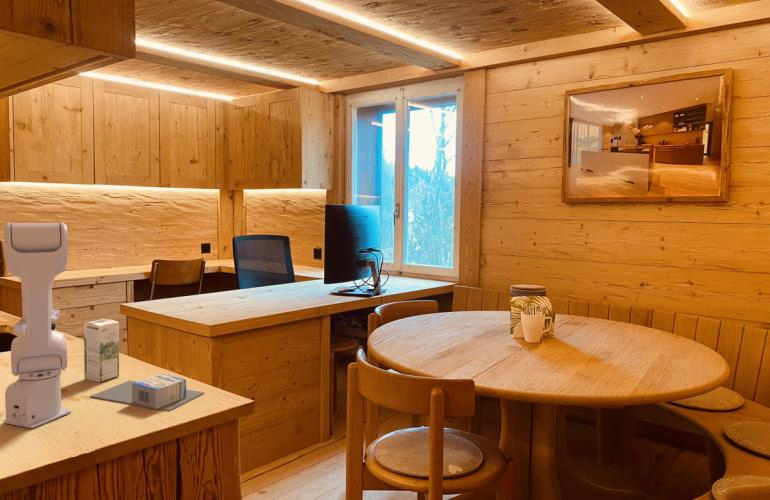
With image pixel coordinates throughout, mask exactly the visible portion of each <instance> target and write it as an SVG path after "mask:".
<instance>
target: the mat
mask: <svg viewBox="0 0 770 500" xmlns="http://www.w3.org/2000/svg"><path fill="white" fill-rule="evenodd" d="M135 382H137V380H136V381H135V380H127V381H125V382H122V383H120V384H118V385H115V386H111V387H109V388H106V389H104V390H101V391H100V392H97V393H93V394H92V395H90V396H89V397H90V398H92V399H98V400H103V401H108V402H109V401H110V402H115V403H116V402H117V403H121V404H127V405H132V406H133V405H134V406H138V407H143V408H149V409H154V410H155V408H152V407H148V406H145V405H141V404H138V403H134V402H132V383H135ZM203 395H205V392H203V391H199V390H197V391H196V390H191V389H186V398H183V399H181V400H178V401H176V402H173V403H171V404H168V405H166V406H163V407H161V408H158V409H157V410H161V411H166V412H171V411H173V410H175V409H177V408H179V407H181V406H183V405H185V404H187V403H189V402H191V401H192V399H193V400H195V399H197V398H199V397H200V396H203ZM196 397H197V398H196ZM194 398H195V399H194ZM190 400H191V401H190ZM188 401H189V402H188ZM186 402H187V403H186ZM184 403H185V404H184Z"/></svg>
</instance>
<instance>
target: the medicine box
mask: <svg viewBox="0 0 770 500" xmlns="http://www.w3.org/2000/svg"><path fill="white" fill-rule="evenodd" d="M186 390H187V380H186V379H184V378H180V377H178V376H177V377H176V376H172V375H169V374H164V373H161V374H158V375H155V376H151V377H148V378H146V379H145V378H144V379H142V380H139V381H136V382H135V383H132V402H134V403H138V404H141V405H145V406H148V407H147V408H149V407H152V408H151V409H154V408H155V409H156V410H159V409H158V408H161V407H163V406H166V405H168V404H171V403H173V402H176V401H178V400H181V399H183V398H186ZM155 409H154V410H155Z"/></svg>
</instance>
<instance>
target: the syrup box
mask: <svg viewBox="0 0 770 500" xmlns="http://www.w3.org/2000/svg"><path fill="white" fill-rule="evenodd" d="M83 342H84V343H83V347H84V349H83V351H84V353H83V354H84V357H83V358H84V359H83V360H84V367H83V368H84V380H86V381H87V380H88V381H92V382H96V383H103V382H105V381H110V380H112V379H115V378H119V377H120V322H119V321H117V320H113V319H109V318H102V319H97V320H93V321H87V322H84V323H83Z"/></svg>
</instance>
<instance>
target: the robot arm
mask: <svg viewBox="0 0 770 500" xmlns="http://www.w3.org/2000/svg"><path fill="white" fill-rule="evenodd" d="M59 222H60V221H59ZM59 222H19V223H18V222H13V223H11V221H8V222H6V223H5V224H4V225H3V245H4V246H3V247H4V255H5V265H6V268H7V272H8V274H9V275H12V276H15V277H16V278H18V279H19V280H20V282H21V283H20V284H21V309H22V310H21V311H22V313H21V314H22V317H21V318H20V319H19V321H17V322H16V323H15V324H12V325H13V329H12V330H13V335H18V336H16V337H14V338H13V340H12V342H11V346H10V347H11V348H10V369H11V374H12V375H13V376H14V377H17V376H18V378H17V380H15V381H14V382H12V383H11V384H9V385H8V386H7V387H6V388H5V393H4V398H5V399H4V400H5V402H4V403H5V419H3V420H2V421H3V424H7V425H9V424H10V425H13V426H18V427H22V428H27V429H34V428H36V427H39V426H42V425H44V424H46V423H48V422H51V421H54V420H56V419H58V418H61V417H63V416H65V415H69V414H70V413H72V410H71V409H68V408H62V389H61V387H62V385H61V384H62V383H61V375H62V371H65V370H66V369H67V368H68V348H67V347H68V346H67V338H66V337H65V335H64V334H63V333H61V332H58V331H55V329H56V325H57V324H56V323H52V322H56V321H57V320H59V318H60V314H61V313H60V312H61V311H60V309H53V285H54V282H55V278H56V277H57V276H58V275H60V274H62V273H64V272H65V271H66V266H67V265H68V249H69V248H68V245H69V244H68V243H69V240H68V237H69V236H68V235H69V234H68V227H67V224H66V223H65V222H63V221H61V222H60V223H59Z"/></svg>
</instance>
